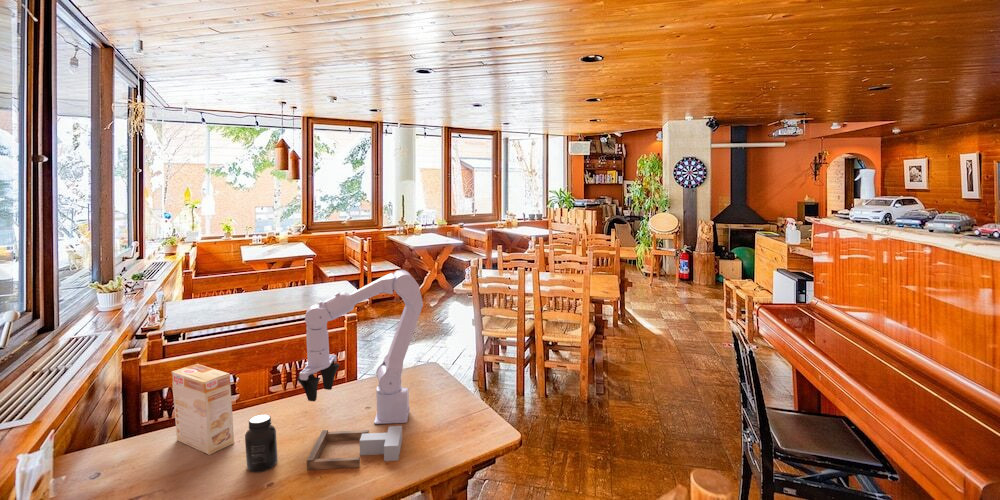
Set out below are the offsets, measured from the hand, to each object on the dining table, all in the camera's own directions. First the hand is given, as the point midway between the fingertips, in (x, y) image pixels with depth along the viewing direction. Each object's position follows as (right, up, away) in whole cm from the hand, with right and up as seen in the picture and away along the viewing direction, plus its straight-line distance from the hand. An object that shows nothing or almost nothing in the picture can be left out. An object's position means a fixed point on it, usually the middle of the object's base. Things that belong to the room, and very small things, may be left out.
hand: (320, 394), depth 134 cm
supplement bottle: (-8, -12, -17) cm, 22 cm away
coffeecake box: (-28, -11, -7) cm, 31 cm away
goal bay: (+9, -11, -11) cm, 18 cm away
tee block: (+20, -11, -10) cm, 25 cm away
